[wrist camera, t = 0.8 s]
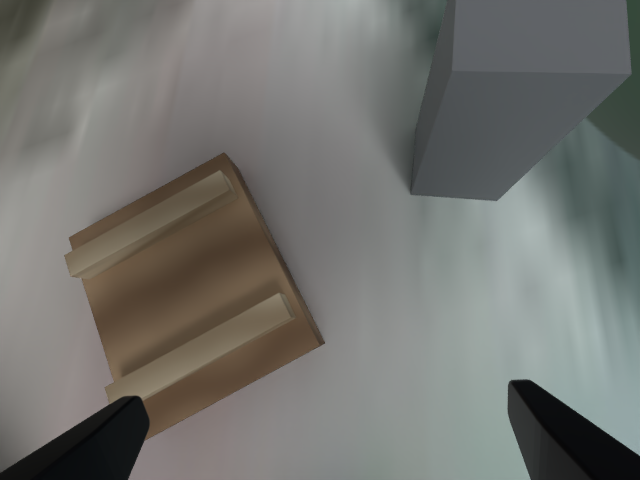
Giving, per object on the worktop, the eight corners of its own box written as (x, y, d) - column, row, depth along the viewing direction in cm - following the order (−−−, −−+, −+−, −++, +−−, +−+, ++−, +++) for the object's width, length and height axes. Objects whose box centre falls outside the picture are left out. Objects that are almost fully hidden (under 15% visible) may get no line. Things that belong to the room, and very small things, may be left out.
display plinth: (325, 343, 22) (315, 347, 18) (159, 432, 22) (115, 455, 18) (237, 168, 26) (214, 141, 22) (96, 245, 26) (49, 231, 22)
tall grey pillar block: (496, 200, 23) (631, 74, 11) (410, 194, 24) (451, 70, 12) (498, 131, 24) (622, -50, 12) (415, 128, 25) (458, -45, 13)
